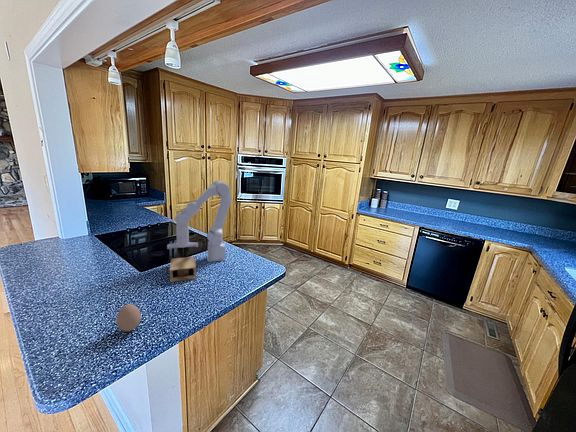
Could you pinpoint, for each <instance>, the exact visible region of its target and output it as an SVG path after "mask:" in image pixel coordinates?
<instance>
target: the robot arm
mask: <svg viewBox="0 0 576 432" xmlns="http://www.w3.org/2000/svg"><path fill="white" fill-rule="evenodd" d="M215 196H219V198H220V199H221V200H220V203H219V206H218V209H217V213H216V216H215V219H214V221H213V225H212V226H211V227H210V229H209V231H208V232H207V233H206V239H207V240H208V242H207V255H206V260H207V263H212V262H222V261H226V244H225V243H224V242H223V239H224V238H223V234H224V232H223V228H224V225H225V222H226V218H227V216H228V213H229V209H230V206H231V204H232V203H231V202H232V201H233V199H232V198H233V197H232V193H231V187H230V186H229V184H228V183H226V182H223V181H221V180H215V181H214V182H212V183H211V184H210V185H209V186H208V188H206V189H205V191H204V192H203V193H201V195H200V196H199V197H198V198H197V199H196V200H195V201H190V202H188V203H187V204H186V207H184V208H183V209H181V210H180V211H179V212H178V213H177V214H176V215H175V217H174V220H175V222H176V225H175V226H176V228H175V230H176V231H175V232H176V242H173V243H169V244H167V245H166V248H167V250H170V249H177V252H178V254H179V256H180V258H183V257H187V254H188V252H189V248H194V247H196V248H198V247H199V242H192V241H190V238H189V237H190V235H189V224H190V221H191V219H192V218H194V216H195V215H196V214H197V213H199V211H200V210H201V206H202V205H203V204H204V203H205V202H207V201H208V200H209V199H210V198H211V197H215Z"/></svg>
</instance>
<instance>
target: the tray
mask: <svg viewBox="0 0 576 432" xmlns="http://www.w3.org/2000/svg"><path fill="white" fill-rule="evenodd" d="M183 258H184V256H183ZM176 274H177V275H176V277H181V276H190V269H181V270H176Z"/></svg>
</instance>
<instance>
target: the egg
mask: <svg viewBox="0 0 576 432" xmlns="http://www.w3.org/2000/svg"><path fill="white" fill-rule="evenodd" d="M141 317H142V315H141V311H140V309H139V308H138V307H137V306H136V305H135V304H132V303H129V304H128V303H127V304H125V305H124V306H122V307H121V308H120V309H119V311H118V313H117V315H116V326H117V327H118V329H120V330H121V331H122V332H130V331H133V330H135V329H136V328H137V327H138V325H140V322H141V319H142V318H141Z"/></svg>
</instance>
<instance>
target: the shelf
mask: <svg viewBox="0 0 576 432" xmlns="http://www.w3.org/2000/svg"><path fill="white" fill-rule="evenodd" d="M183 257H184V256H183ZM169 264H170V265H169V267H170V268H169V279H170V281H169V282H170V283H172V282H178V281H179V282H180V281H187V280H195V279H197V264H196V256H186V257H184V258H181V257H176V258H175V257H174V258H173V257H172V258H170V263H169ZM181 269H189V270H190V269H192V271H193V272H192V273H193V274H191V275H190V274H189V276H181V277H177V276H174V273H175V271H177V270H181Z"/></svg>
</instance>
